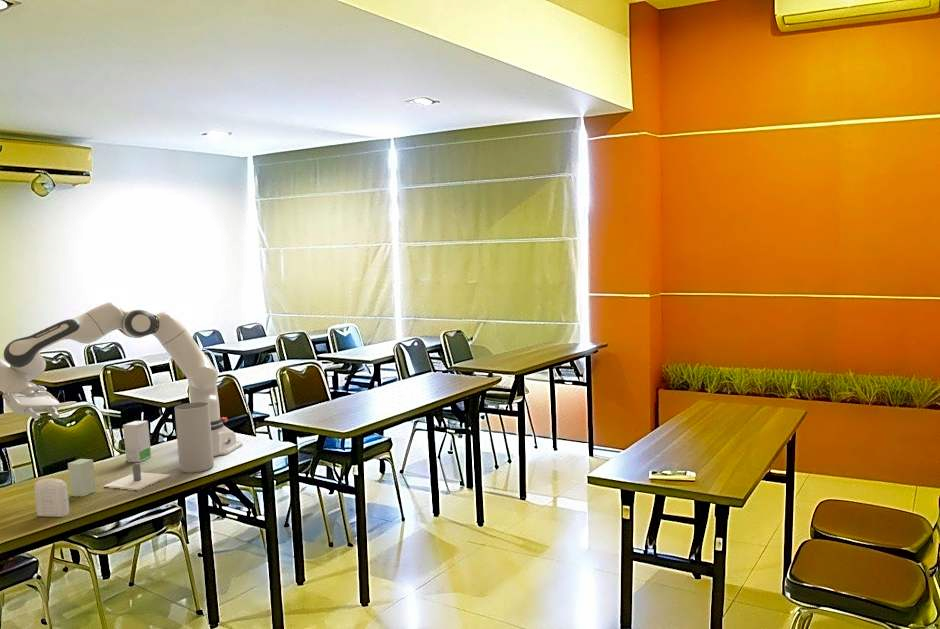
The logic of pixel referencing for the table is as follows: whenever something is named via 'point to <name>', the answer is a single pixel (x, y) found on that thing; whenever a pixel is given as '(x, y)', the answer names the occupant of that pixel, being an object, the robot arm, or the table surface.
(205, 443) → the cylinder vase
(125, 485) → the dock
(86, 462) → the light grey tall block
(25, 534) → the table surface
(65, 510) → the photo printer
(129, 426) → the skincare box
